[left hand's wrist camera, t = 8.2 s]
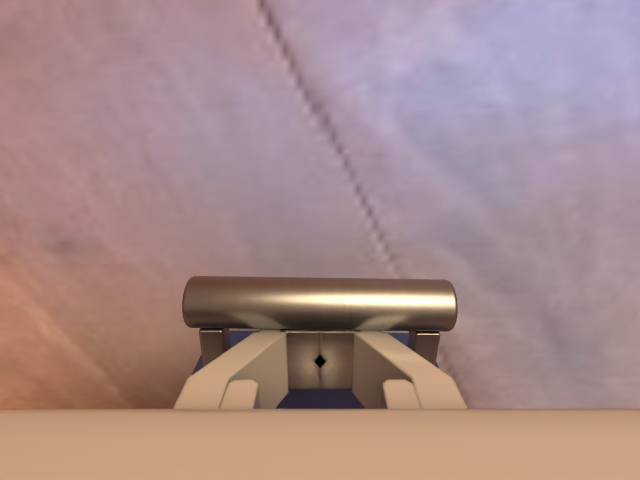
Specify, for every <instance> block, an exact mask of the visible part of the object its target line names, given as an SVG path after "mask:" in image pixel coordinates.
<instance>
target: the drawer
mask: <svg viewBox="0 0 640 480" xmlns="http://www.w3.org/2000/svg"><path fill="white" fill-rule="evenodd" d="M182 311H183V318H184V322H185V324H186V325H187V326H188V327H191V328H200V330H199V335H200V343H201V351H202V355H201V357H200V359H199V361H198V363H197V365H196V367H195V369H194V371H193V373H192V375H193V374H194V373H196V372H197V371H199V370H200V369H201V368H203V367H204V366H206V365H207V364H209V363H210V362H212V361H213V360H215V359H216V358H217V357H219V356H220V355H222V354H223V353H225V352H226V351H228V350H229V349H230V348H232V347H233V346H235V345H236V344H238V343H239V342H241V341H242V340H244V339H245V338H246V337H248V336H249V335H251V334H252V333H254V332H259V331H229V328H244V329H314V330H385V331H409V333H388V334H389V335H391V336H392V337H394V338H395V339H397V340H398V341H400V342H401V343H402V344H404V345H405V346H407V347H408V348H410V349H411V350H413V351H414V352H415V353H417V354H418V355H420V356H421V357H423V358H424V359H426V360H427V361H428V362H430V363H431V364H433V365H434V366H436V367H437V368H439V367H438V365H437V363H436V357H437V350H438V344H439V338H440V333H439V331H450V330H452V329H453V328H454V326H455V323H456V319H457V298H456V293H455V290H454V287H453V285H452V284H451V283H450V282H449V281H447V280H428V279H361V278H294V277H227V276H194V277H191V278H190V279H189V280H188V282H187V284H186V287H185V290H184V294H183V301H182ZM275 409H365V408H364V407H363V405H362V404H361V403H360V402H359V400H358V399H357V398H356V397H355V395H354V394H353V393H352V390H288V393H287V395H286V396H285V397H284V398H283V400H282V401H281V402H280V403H279V405H278V406H277V407H276V408H275Z"/></svg>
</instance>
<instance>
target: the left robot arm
mask: <svg viewBox="0 0 640 480" xmlns="http://www.w3.org/2000/svg"><path fill="white" fill-rule="evenodd" d="M288 390H352V393H353V394H354V395H355V397H356V398H357V399H358V400H359V402H360V403H361V404H362V405H363V407H364V408H365V409H275V408H276V407H277V406H278V405H279V403H280V402H281V401H282V400H283V398H284V397H285V396H286V395H287V393H288ZM0 480H640V409H468V408H467V406H466V404H465V402H464V400H463V398H462V396H461V394H460V392H459V390H458V388H457V386H456V384H455V382H454V380H453V378H452V377H450V376H449V375H447V374H446V373H444V372H443V371H441V370H440V369H439V368H437V367H436V366H434V365H433V364H431V363H430V362H428V361H427V360H426V359H424V358H423V357H421V356H420V355H418V354H417V353H415V352H414V351H413V350H411V349H410V348H408V347H407V346H405V345H404V344H402V343H401V342H400V341H398V340H397V339H395V338H394V337H392V336H391V335H389V334H388V333H387V332H381V331H380V330H314V329H260V331H259V332H254V333H252V334H251V335H249V336H248V337H246V338H245V339H244V340H242V341H241V342H239V343H238V344H236V345H235V346H233V347H232V348H230V349H229V350H228V351H226V352H225V353H223V354H222V355H220V356H219V357H217V358H216V359H215V360H213V361H212V362H210V363H209V364H207V365H206V366H204V367H203V368H201V369H200V370H199V371H197V372H196V373H194V374H193V375H191V376H190V377H188V379H187V381H186V383H185V385H184V387H183V389H182V391H181V393H180V395H179V397H178V399H177V401H176V403H175V405H174V407H173V409H0Z"/></svg>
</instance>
